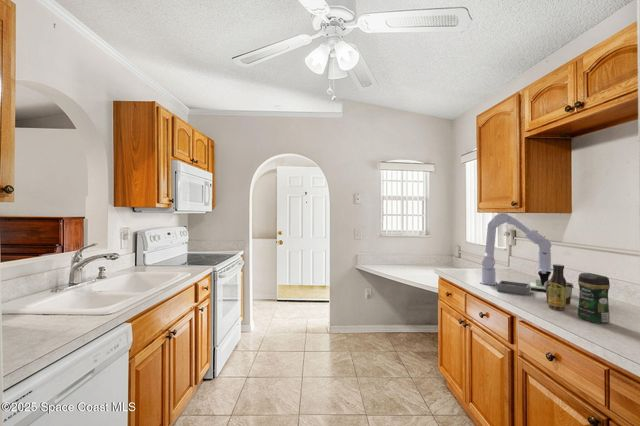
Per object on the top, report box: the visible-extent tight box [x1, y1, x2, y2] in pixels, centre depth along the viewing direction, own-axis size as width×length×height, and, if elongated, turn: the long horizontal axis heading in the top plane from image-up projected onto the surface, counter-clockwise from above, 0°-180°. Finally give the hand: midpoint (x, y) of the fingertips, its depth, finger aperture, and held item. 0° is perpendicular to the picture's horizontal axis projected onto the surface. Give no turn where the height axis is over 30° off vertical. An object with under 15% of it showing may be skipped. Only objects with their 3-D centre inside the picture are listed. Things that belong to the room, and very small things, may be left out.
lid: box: [528, 277, 550, 291], centre depth 181 cm, size 13×15×4 cm
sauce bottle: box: [547, 263, 567, 311], centre depth 145 cm, size 7×6×20 cm
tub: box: [496, 280, 531, 296], centre depth 177 cm, size 12×14×4 cm
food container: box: [544, 281, 574, 306], centre depth 155 cm, size 12×6×10 cm, turn 84°
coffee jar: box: [577, 272, 611, 325], centre depth 129 cm, size 10×8×19 cm
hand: (544, 284), depth 181 cm, fingers closed on lid, 4 cm apart
